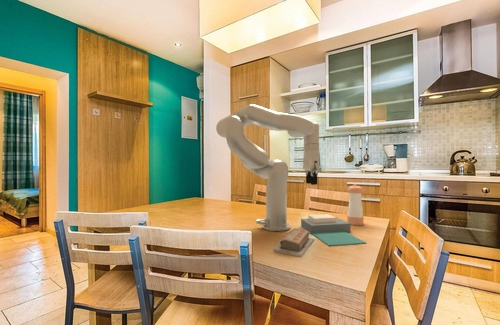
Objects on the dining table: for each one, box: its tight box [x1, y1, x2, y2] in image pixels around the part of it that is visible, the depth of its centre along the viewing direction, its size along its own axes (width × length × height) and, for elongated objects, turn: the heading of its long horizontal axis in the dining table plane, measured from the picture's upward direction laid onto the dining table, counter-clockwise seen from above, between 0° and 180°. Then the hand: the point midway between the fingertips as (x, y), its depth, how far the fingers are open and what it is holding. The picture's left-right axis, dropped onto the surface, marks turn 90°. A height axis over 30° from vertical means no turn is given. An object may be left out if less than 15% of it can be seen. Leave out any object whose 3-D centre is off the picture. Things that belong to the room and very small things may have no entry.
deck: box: [300, 216, 352, 235], centre depth 111 cm, size 18×12×4 cm, turn 99°
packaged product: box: [273, 228, 315, 258], centre depth 89 cm, size 18×5×10 cm
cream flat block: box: [307, 213, 337, 223], centre depth 111 cm, size 10×7×2 cm
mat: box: [311, 231, 367, 247], centre depth 97 cm, size 15×15×1 cm
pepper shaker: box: [346, 183, 364, 226], centre depth 119 cm, size 7×7×19 cm
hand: (311, 183), depth 122 cm, fingers open, 5 cm apart
